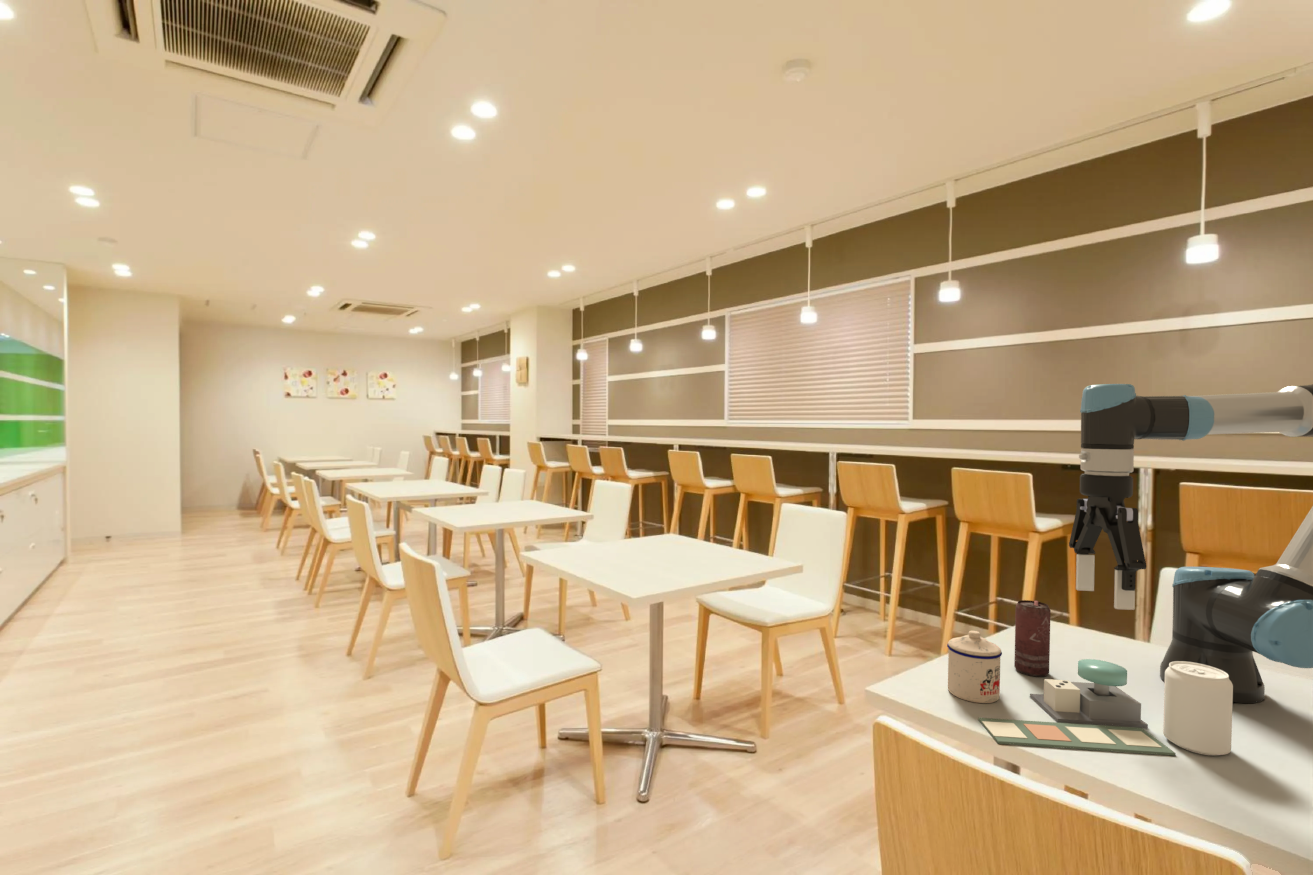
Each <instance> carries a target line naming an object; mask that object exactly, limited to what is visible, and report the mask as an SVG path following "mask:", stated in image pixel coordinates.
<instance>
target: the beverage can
mask: <svg viewBox="0 0 1313 875" xmlns="http://www.w3.org/2000/svg"><path fill="white" fill-rule="evenodd" d="M1163 689H1164V690H1163V691H1164V693H1163V695H1164V696H1163V725H1162V727H1163V728H1162V729H1163V730H1162V732H1163V736H1164V737H1165V738H1166V739H1167V740H1168V741H1170V742H1172V743H1173V744H1174V745H1176V746H1177V747H1180V748H1182V749H1184V750H1186V751H1188V752H1191V753H1194V754H1195V753H1196V754H1200V755H1204V756H1224V755H1228V754H1230V753H1231V751H1232V735H1233V734H1232V731H1233V730H1232V729H1233V703H1234V702H1233V684H1232V682H1231V681H1230V680H1229V675H1228V674H1227V673H1226V672H1224V671H1222V670H1220V669H1217V668H1215V667H1211V666H1208V665H1204V664H1199V663H1194V662H1186V661H1174V662H1170V663H1169V667H1168V668H1167V669H1166V670H1165V681H1164V688H1163Z"/></svg>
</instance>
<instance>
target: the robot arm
mask: <svg viewBox="0 0 1313 875" xmlns="http://www.w3.org/2000/svg"><path fill="white" fill-rule="evenodd" d="M1081 396H1082V397H1081V403H1080V454H1079V455H1078V458H1079V460H1080V470H1081V471H1083V472H1084V473H1081V474H1080V475H1079V493H1080V494H1081V495H1083V496H1086V497H1087V498H1076V511H1075V516H1074V520H1073V525H1072V530H1071V534H1070V536H1069V542H1068V546H1069V548H1070V549H1073V550H1074V553H1075V554H1076V558H1075V559H1076V560H1075V563H1076V564H1075V565H1076V566H1075V567H1076V568H1075V569H1076V572H1075V578H1076V579H1075V590H1077V591H1084V592H1085V591H1087V592H1095V559H1096V558H1095V554H1096V551H1095V549H1094V548H1095V546H1096V543H1097V542H1098V540H1099V537H1100V535H1101V533H1102V531H1103V532H1104V533H1106V534H1107V536H1108V539H1109V542H1110V546H1111V547H1112V548H1111V549H1112V551H1113V554H1114V557H1115V561H1116V563H1117V565H1116V566H1115V567H1113V568H1114V589H1113V590H1114V595H1113V596H1114V597H1113V599H1114V600H1113V602H1114V603H1113V608H1114V609H1115V610H1126V611H1127V610H1128V611H1129V610H1130V611H1132V610H1133V611H1134V610H1135V608H1136V607H1135V606H1136V604H1135V603H1136V583H1137V582H1136V581H1137V580H1136V576H1137V572H1138V571H1139V570H1146V569H1147V560H1146V556H1145V552H1144V547H1143V541H1142V537H1141V530H1140V525H1139V510H1138V508H1135V507H1126V505H1125V499H1126V498H1128V499H1129V498H1131V497H1133V495H1134V477H1133V476H1132V475H1130V473H1133V472H1134V470H1135V469H1134V462H1135V460H1134V459H1135V458H1134V457H1135V456H1134V454H1135V448H1134V447H1135V440H1161V441H1162V440H1164V441H1165V440H1167V441H1168V440H1171V441H1172V440H1175V441H1176V440H1177V441H1183V442H1184V441H1186V440H1199V439H1203V438H1205V437H1206V436H1207V435H1234V434H1256V433H1257V434H1259V433H1260V434H1261V433H1279V434H1280V435H1284V436H1286V437H1289V438H1290V437H1291V438H1293V437H1295V438H1296V437H1298V438H1299V437H1309V438H1310V437H1312V438H1313V384H1306V385H1305V384H1304V385H1291V386H1289V385H1288V386H1286V387H1283V388H1281V389H1279V390H1278V391H1274V392H1273V391H1271V392H1269V391H1268V392H1252V393H1251V392H1249V393H1226V394H1223V393H1222V394H1206V395H1203V394H1202V395H1201V394H1200V395H1186V394H1184V395H1154V396H1153V395H1151V396H1149V395H1148V396H1141V395H1137V393H1136V388H1135V386H1134V385H1133V384H1130V383H1129V384H1128V383H1102V384H1091V385H1087V386H1085V387H1084V388H1083V390H1082V395H1081ZM1173 575H1174V576H1173V583H1172V586H1171V587H1172V589H1173V590H1172V637H1171V641H1170V644H1169V646H1168V648H1167V650H1166V652H1165V655H1164V657H1163V659H1162V661H1161V663H1160V666H1159V678H1160V679H1161V680H1162V681H1163V682H1165V670H1166V669H1167V668H1168V667H1169V663H1170V662H1174V661H1186V662H1194V663H1199V664H1204V665H1208V666H1211V667H1215V668H1217V669H1220V670H1222V671H1224V672H1226V673H1227V674H1228V675H1229V680H1230V681H1231V682H1232V684H1233V702H1232V703H1240V704H1253V703H1255V704H1256V703H1261V702H1263V700H1265V695H1266V694H1265V692H1266V691H1265V684H1264V681H1263V679H1262V675H1261V673H1260V671H1259V667H1258V666H1257V665H1258V664H1257V663H1256V660H1255V658H1254V653H1257V654H1259V655H1261V656H1263V657H1264V658H1266V659H1268V660H1270V661H1272V662H1276V663H1280V664H1284V665H1287V666H1289V667H1290V666H1291V667H1294V668H1299V669H1313V505H1312V506H1311V508H1310V510H1309V511H1308V513H1307V514H1306V515H1305V518H1303V520H1302V522H1301V524H1300V525H1299V527H1298V528H1297V531H1296V532H1295V533H1294V535H1293V536H1292V538H1291V539H1290V542H1289V543H1288V544H1287V546H1286V547H1285V549H1284V550H1283V552H1282V554H1281V555H1280V557H1279V559H1278V560H1277V562H1276V563H1275V564H1273V565H1269V566H1264V567H1260V568H1259V569H1258V570H1257V572H1256V573H1254V572H1252V571H1251V570H1248V569H1240V568H1230V567H1215V566H1214V567H1211V566H1181V567H1179V568H1177V569H1176V570H1175V572H1174V574H1173ZM1253 652H1254V653H1253Z"/></svg>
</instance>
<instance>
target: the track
mask: <svg viewBox="0 0 1313 875" xmlns="http://www.w3.org/2000/svg"><path fill="white" fill-rule="evenodd" d="M977 720H978V721H979V723H980V724H981V725H982V727H984V729H985V730H986V731H987V732H988V733H989V735H990V736H991V737H992V738H993V739H994V741H995V742H996V743H997V744H999V745H1014V746H1030V747H1041V748H1044V747H1045V748H1059V749H1070V750H1071V749H1072V750H1088V751H1102V752H1117V753H1131V754H1132V753H1133V754H1147V755H1158V756H1159V755H1161V756H1172V757H1173V756H1175V757H1176V755H1177V754H1176V752H1175V751H1173V750H1172V749H1171V748H1170V747H1168V746H1166V745H1165V744H1164V743H1163V742H1162V741H1160V740H1159V739H1157V738H1156V737H1155V736H1154V735H1152V734H1151V733H1149V732H1148V731H1146V730H1145V728H1139V727H1123V726H1107V725H1092V724H1076V723H1060V722H1057V721H1055V722H1054V721H1039V720H1023V719H1010V718H1009V719H1007V718H1005V719H1004V718H992V717H991V718H990V717H978V719H977Z"/></svg>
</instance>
